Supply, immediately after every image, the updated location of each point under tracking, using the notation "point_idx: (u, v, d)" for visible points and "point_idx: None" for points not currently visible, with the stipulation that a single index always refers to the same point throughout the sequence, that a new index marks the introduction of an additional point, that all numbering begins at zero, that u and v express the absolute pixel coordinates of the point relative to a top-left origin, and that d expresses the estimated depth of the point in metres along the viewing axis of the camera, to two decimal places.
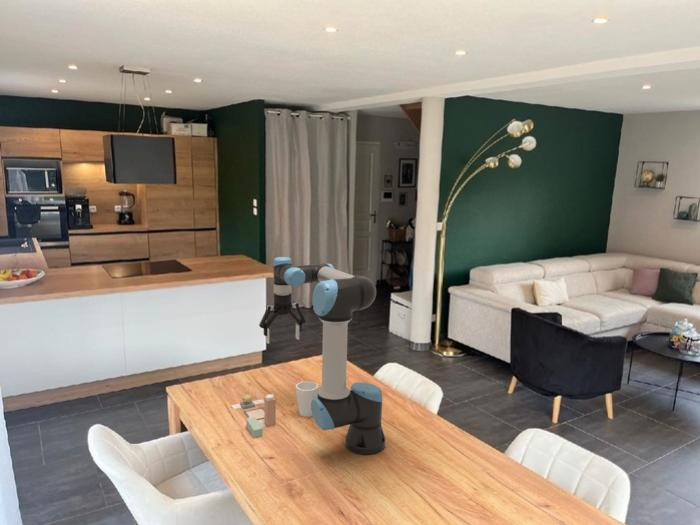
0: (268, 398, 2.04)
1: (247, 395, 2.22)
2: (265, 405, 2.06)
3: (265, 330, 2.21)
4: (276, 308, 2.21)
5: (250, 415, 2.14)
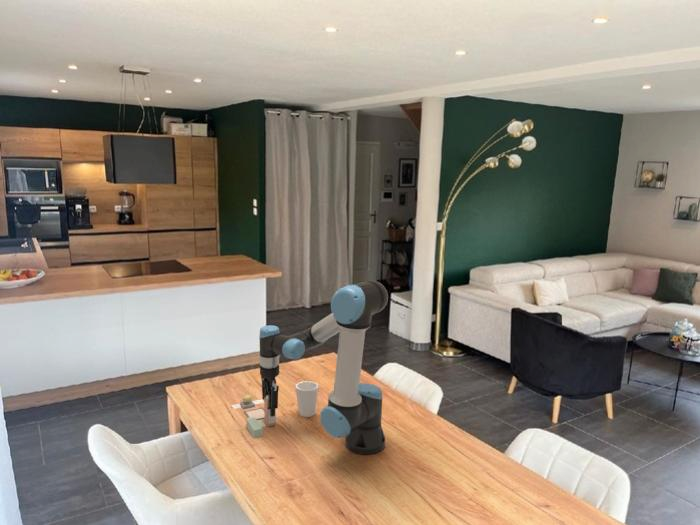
0: (268, 398, 2.04)
1: (247, 395, 2.22)
2: (265, 405, 2.06)
3: None
4: (264, 377, 2.06)
5: (250, 415, 2.14)
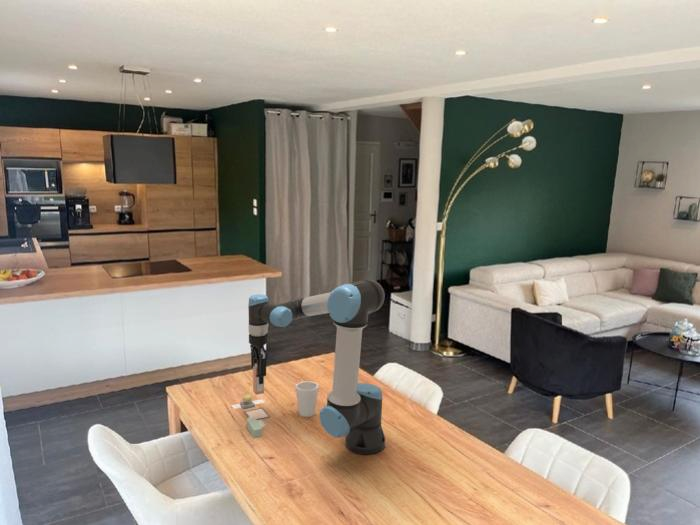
0: None
1: (247, 395, 2.22)
2: (254, 373, 2.09)
3: None
4: (253, 346, 2.09)
5: (250, 415, 2.14)
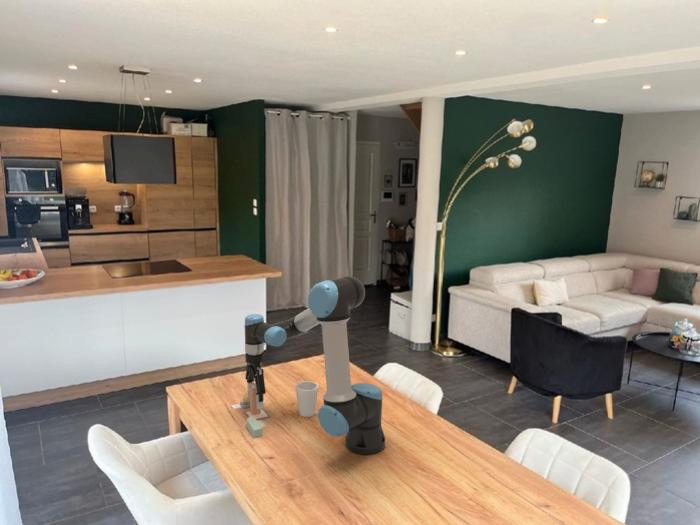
0: (253, 387, 2.13)
1: (247, 395, 2.22)
2: (250, 394, 2.15)
3: None
4: (249, 364, 2.15)
5: (250, 415, 2.14)
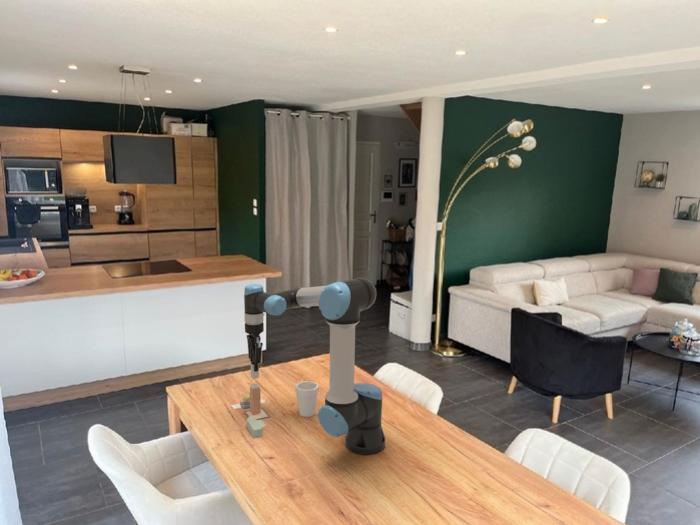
0: (253, 387, 2.13)
1: (247, 395, 2.22)
2: (250, 394, 2.15)
3: (251, 362, 2.14)
4: (249, 335, 2.13)
5: (250, 415, 2.14)
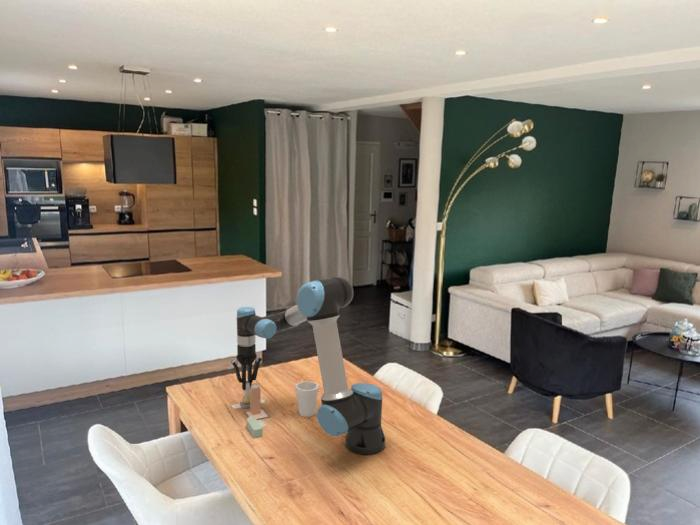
0: (253, 387, 2.13)
1: None
2: (250, 394, 2.15)
3: (244, 384, 2.20)
4: (240, 359, 2.17)
5: (250, 415, 2.14)
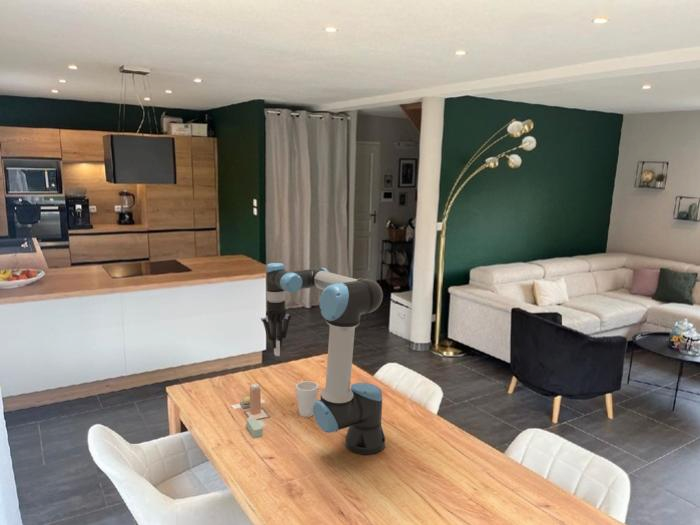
0: (253, 387, 2.13)
1: (247, 397, 2.22)
2: (250, 394, 2.15)
3: (274, 342, 2.16)
4: (270, 316, 2.13)
5: (250, 415, 2.14)
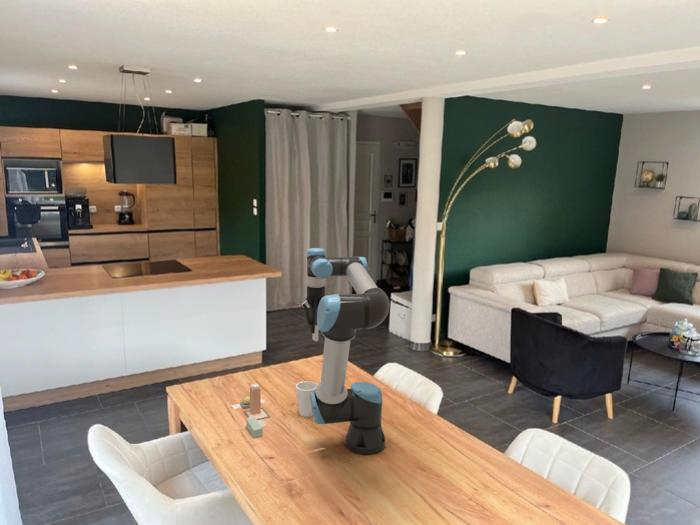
0: (253, 387, 2.13)
1: (247, 397, 2.22)
2: (250, 394, 2.15)
3: (313, 327, 2.17)
4: (310, 301, 2.14)
5: (250, 415, 2.14)
